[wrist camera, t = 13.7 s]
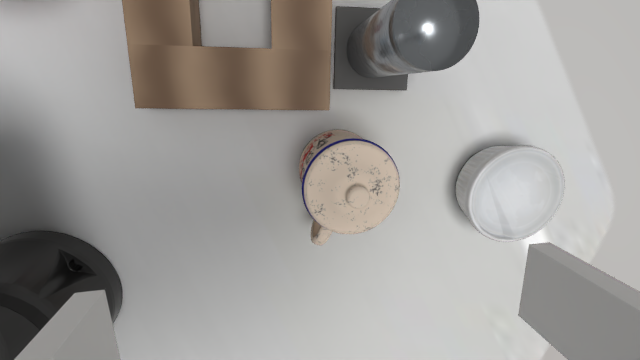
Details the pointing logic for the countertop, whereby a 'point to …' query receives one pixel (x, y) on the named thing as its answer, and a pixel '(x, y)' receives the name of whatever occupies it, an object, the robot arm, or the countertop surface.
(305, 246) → the countertop surface
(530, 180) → the ramekin
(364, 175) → the teacup with lid
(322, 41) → the frame
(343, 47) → the pad
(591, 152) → the countertop surface
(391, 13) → the grey metal cylinder
